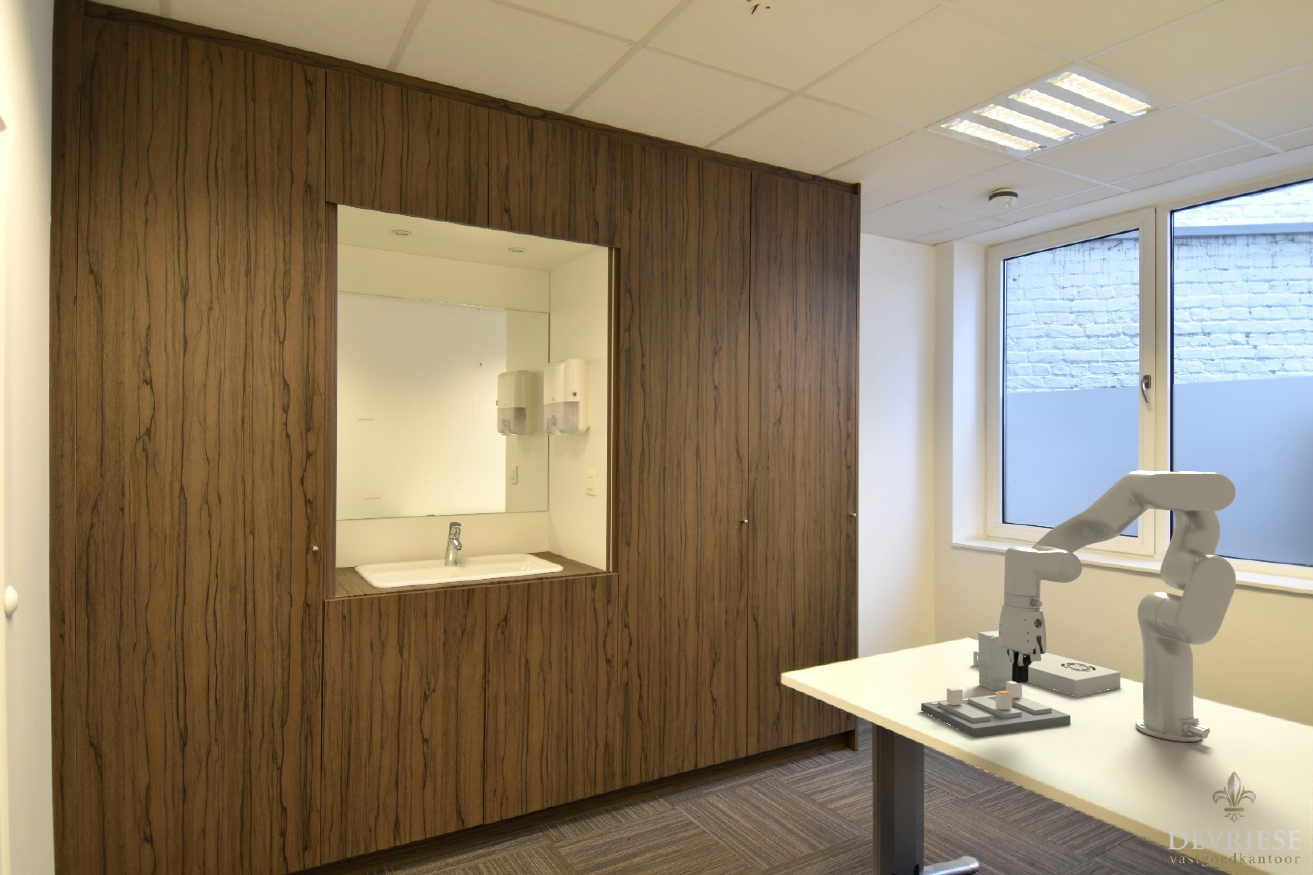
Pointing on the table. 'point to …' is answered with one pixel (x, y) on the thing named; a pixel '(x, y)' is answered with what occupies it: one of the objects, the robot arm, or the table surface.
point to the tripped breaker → (1003, 700)
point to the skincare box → (993, 662)
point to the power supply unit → (1069, 675)
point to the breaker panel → (995, 715)
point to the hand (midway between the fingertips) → (1020, 681)
